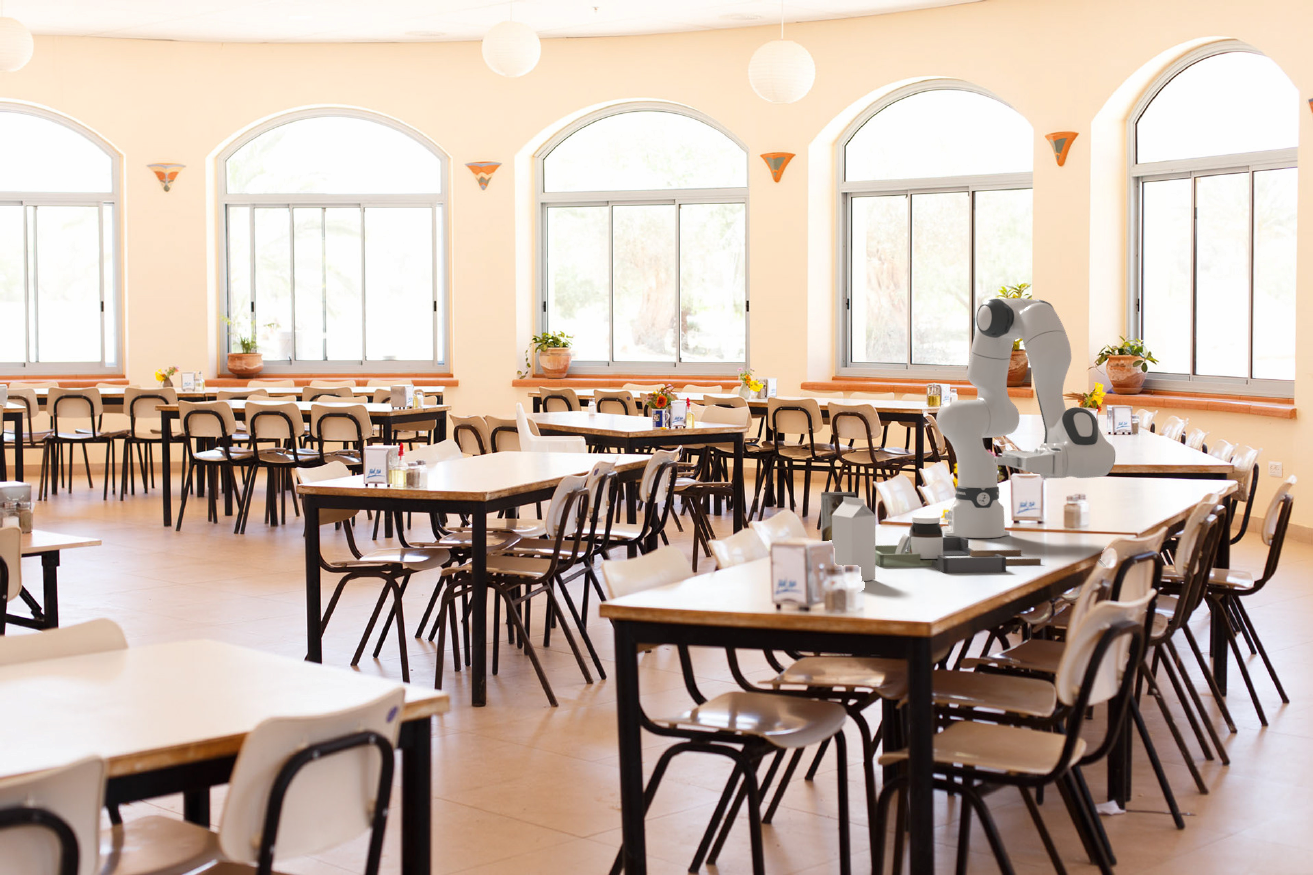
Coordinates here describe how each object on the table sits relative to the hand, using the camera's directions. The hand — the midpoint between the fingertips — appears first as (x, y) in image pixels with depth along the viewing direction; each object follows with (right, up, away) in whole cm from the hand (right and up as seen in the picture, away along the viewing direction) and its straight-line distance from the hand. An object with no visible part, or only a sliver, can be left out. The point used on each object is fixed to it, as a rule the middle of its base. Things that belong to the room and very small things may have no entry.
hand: (995, 461), depth 330 cm
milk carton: (-40, -27, -26) cm, 55 cm away
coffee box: (-37, -25, +14) cm, 47 cm away
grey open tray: (-11, -24, +15) cm, 31 cm away
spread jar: (-20, -25, -1) cm, 32 cm away
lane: (-11, -25, +1) cm, 27 cm away
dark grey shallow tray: (-10, -26, -13) cm, 31 cm away
